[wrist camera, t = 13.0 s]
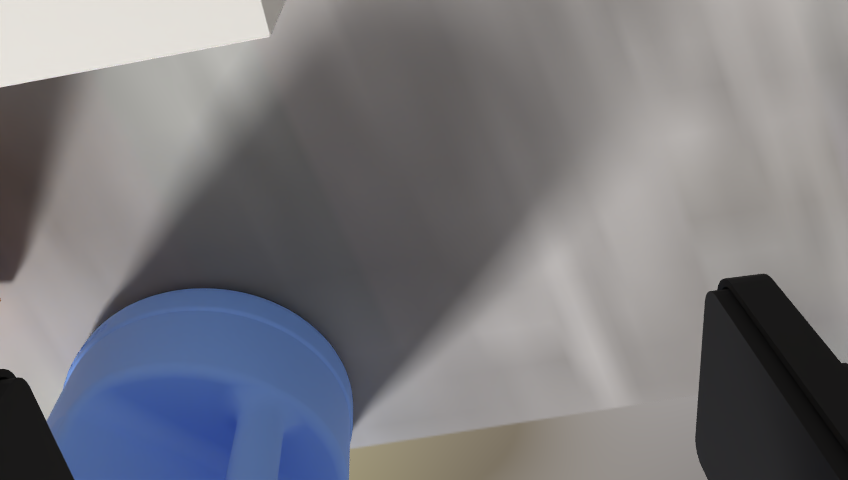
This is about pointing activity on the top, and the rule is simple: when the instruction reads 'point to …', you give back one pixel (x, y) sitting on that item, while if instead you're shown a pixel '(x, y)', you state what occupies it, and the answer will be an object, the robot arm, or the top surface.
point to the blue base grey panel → (119, 32)
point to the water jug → (205, 394)
